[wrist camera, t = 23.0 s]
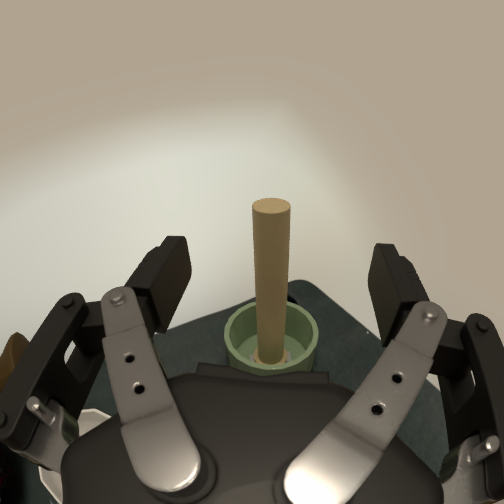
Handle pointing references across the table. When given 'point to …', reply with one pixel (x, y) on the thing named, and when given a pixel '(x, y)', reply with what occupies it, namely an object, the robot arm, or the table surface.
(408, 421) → the table surface
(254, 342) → the processor bowl
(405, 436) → the table surface
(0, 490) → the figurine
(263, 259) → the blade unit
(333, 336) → the table surface
